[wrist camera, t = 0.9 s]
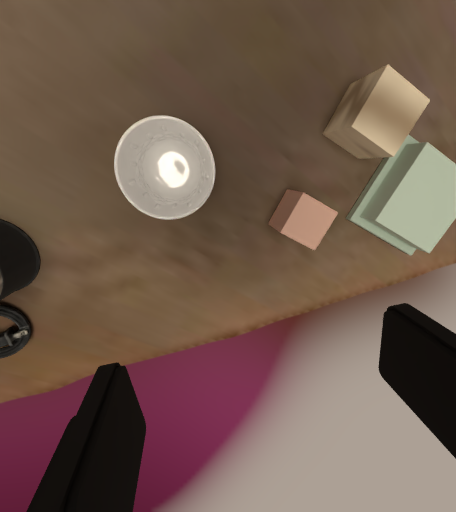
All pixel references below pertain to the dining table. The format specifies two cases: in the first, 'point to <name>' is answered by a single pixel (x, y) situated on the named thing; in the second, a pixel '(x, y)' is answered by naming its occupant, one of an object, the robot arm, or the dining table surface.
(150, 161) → the white cup
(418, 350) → the robot arm
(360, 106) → the beech block
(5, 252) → the milk frother
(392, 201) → the sage plinth
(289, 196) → the terracotta block
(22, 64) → the dining table surface
